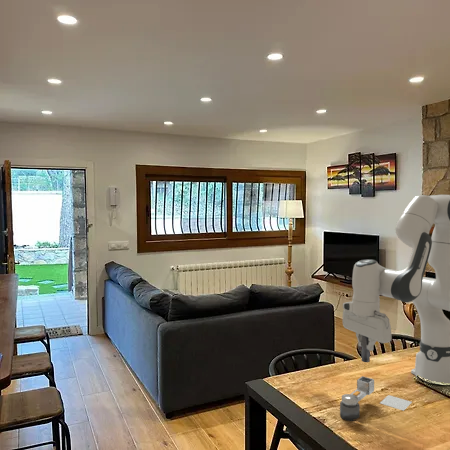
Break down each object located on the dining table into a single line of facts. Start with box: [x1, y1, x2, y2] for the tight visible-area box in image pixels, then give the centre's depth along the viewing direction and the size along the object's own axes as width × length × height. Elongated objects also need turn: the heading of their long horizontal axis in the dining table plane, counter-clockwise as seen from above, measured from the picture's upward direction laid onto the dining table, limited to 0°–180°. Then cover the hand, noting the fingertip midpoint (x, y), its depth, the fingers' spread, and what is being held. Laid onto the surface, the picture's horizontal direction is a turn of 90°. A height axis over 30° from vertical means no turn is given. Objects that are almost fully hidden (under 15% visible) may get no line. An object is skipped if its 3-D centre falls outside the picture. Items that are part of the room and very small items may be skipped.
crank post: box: [339, 400, 361, 422], centre depth 132 cm, size 6×6×4 cm
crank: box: [341, 376, 375, 407], centre depth 137 cm, size 17×5×4 cm, turn 138°
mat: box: [379, 394, 413, 412], centre depth 140 cm, size 8×8×1 cm
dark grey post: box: [361, 335, 371, 363], centre depth 140 cm, size 3×3×10 cm
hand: (365, 348), depth 141 cm, fingers closed on dark grey post, 3 cm apart
